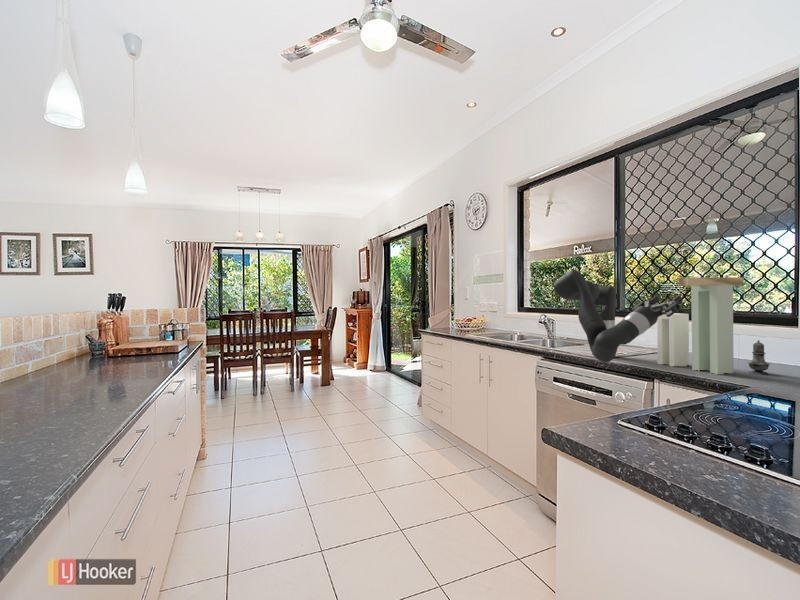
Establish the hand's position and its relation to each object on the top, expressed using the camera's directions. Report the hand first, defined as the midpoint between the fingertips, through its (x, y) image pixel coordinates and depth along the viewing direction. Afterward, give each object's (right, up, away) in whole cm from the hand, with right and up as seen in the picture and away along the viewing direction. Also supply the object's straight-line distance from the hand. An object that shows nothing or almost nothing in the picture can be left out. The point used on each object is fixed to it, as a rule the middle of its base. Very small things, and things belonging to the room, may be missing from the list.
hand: (668, 298), depth 135 cm
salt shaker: (+34, -27, +2) cm, 44 cm away
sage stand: (+21, -27, +6) cm, 35 cm away
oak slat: (+20, +5, +6) cm, 22 cm away
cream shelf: (+16, -27, +21) cm, 38 cm away
